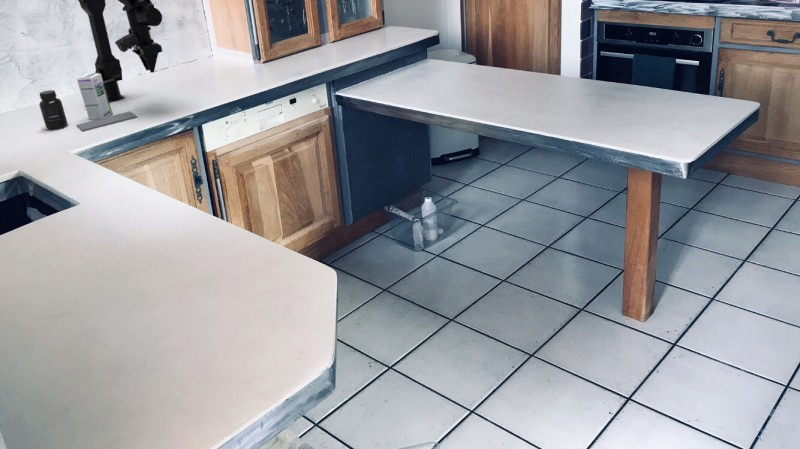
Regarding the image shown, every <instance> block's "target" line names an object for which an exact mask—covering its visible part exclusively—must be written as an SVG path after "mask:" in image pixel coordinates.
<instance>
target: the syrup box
mask: <svg viewBox="0 0 800 449" xmlns="http://www.w3.org/2000/svg"><path fill="white" fill-rule="evenodd" d="M76 81H77V84H78V87H79V91H80V94H81V97H82V101H83V103H84V107H85V111H86V114H87V117H88V119H89V120H90V121H93V120H97V119H101V118H105V117H109V116H112V114H113V110H112V107H111V104H110V102H109V100H108V96H107V93H106V90H105V86H104V83H103V80H102V76H101V74H100V73H95V72H94V73H93V72H92V73H86V74H84V75H83V76H80V77H78V78H77V79H76Z"/></svg>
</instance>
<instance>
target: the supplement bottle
mask: <svg viewBox="0 0 800 449" xmlns="http://www.w3.org/2000/svg"><path fill="white" fill-rule="evenodd" d="M39 98H40V102H39V109H40V112H41V115H42V119H43V122H44V125H45V128H46V130H50V131H52V130H53V131H55V130H60V129H63V128H66V127H67V126H68V125H69V124H68V119H67V116H66V113H65V109H64V105H63V102H62V100H61V98H59V97H57V94H56V91H55V90H53V89H50V90H44V91H42V92H41V91H40V92H39Z"/></svg>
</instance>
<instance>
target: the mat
mask: <svg viewBox="0 0 800 449" xmlns="http://www.w3.org/2000/svg"><path fill="white" fill-rule="evenodd" d="M137 118H138V115H137V114H135V113H133V112H131V110H129V111H126V112H122V113H118V114H113V115H109V116H108V117H105V118H101V119H97V120H90V121H85V122H82V123H79V124H78V123H77V124H76V127H77V128H78V129H79V130H80V131H82V132H86V131H87V132H88V131H90V130H93V129H94V130H95V129H97V128H102V127H106V126H109V125H114V124H116V123H121V122H125V121H129V120H132V119H137Z"/></svg>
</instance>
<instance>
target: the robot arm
mask: <svg viewBox="0 0 800 449" xmlns="http://www.w3.org/2000/svg"><path fill="white" fill-rule="evenodd" d="M77 1H78V3H79V5H80V8H81V9H82V10H83V11H84V12H85V13H86V15H87V16H88V21H89V24H90V25H89V26H90V30H91V33H92V38H93V41H94V42H93V43H94V45H95V50H96V55H97V57H96V59H95V62H94V67H95V68H94V69H95V72H94V73H100V74H101V76H102V80H103V83H104V86H105V90H106V93H107V96H108V100H109V103H110V102H114V101H118V100H122V99H124V98H125V96H124V95H122V94H121V90H120V87H119V83H118V82H119V81H123V69H122V67H121V61H120V59H119V58H116V56H115V55H113V52H112V51H113V50H112V47H111V43H110V39H109V35H108V30H107V26H106V21H105V17H104V11H105V9H106V5H107V4H106V0H77ZM117 1H118V2H120V4H122V5H123V7H122V9H121V10H122V11H123V12H125V13H126V16H127V20H128V25H129V28H128V30H127V31H128V34H126V35H124V36H122V37H121V38H119V39H117V40H116V41H115V42H114V43H115V45H116V46H117V48H118V50H119V51H120V52H122V53H125V52H126V53H127V51H129V49H130V50H131V52H132V53H134V54H136V55H137V56H138V58H139V59H140V61H141V63H142V65H143V67H144V69H145V70H146V71H149V72H150V73H151V74H152V73H155V71H156V70H155V69H156V65H157V60H158V55H159V54H160V53H162V52H163V48H162V47H163V46H162V45H161V44H159V43H157V42H155V41H154V39H153V38H152V36H151V32H150V31H151V30H152V29H151V27H158V26H160V25H161V24H162V21H163V14H162V12H161V11H160V9H158V8H156V7H155V5H154V3H153V2H152V1H151V0H117Z"/></svg>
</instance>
